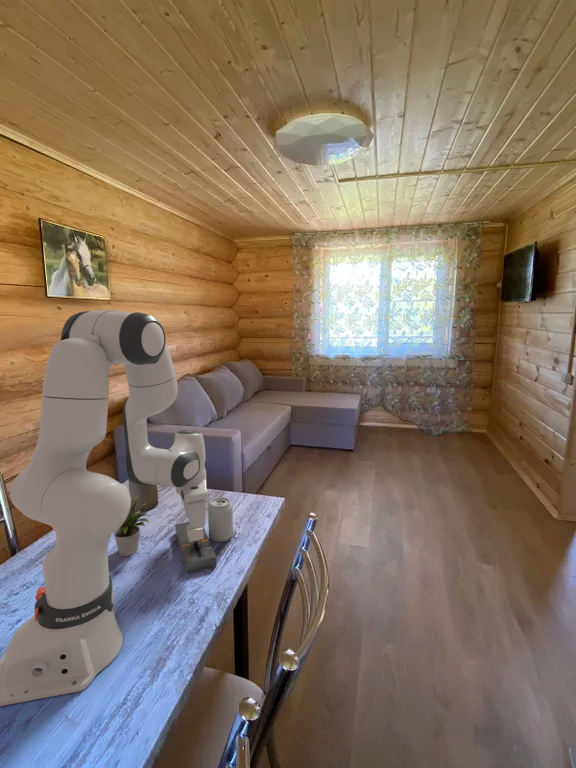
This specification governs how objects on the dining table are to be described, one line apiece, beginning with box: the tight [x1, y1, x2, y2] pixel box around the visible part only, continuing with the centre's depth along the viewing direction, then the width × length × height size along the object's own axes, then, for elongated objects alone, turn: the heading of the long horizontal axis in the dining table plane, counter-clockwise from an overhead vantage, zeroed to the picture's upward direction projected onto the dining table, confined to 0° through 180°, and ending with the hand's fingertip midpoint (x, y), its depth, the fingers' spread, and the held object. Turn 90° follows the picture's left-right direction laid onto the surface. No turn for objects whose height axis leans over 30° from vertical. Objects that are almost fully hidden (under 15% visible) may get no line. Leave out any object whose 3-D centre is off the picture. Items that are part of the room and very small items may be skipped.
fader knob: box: [187, 524, 204, 544], centre depth 110 cm, size 4×4×5 cm
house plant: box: [113, 495, 151, 557], centre depth 110 cm, size 14×14×16 cm
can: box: [207, 496, 234, 543], centre depth 119 cm, size 8×8×12 cm
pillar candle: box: [127, 476, 159, 512], centre depth 139 cm, size 10×10×15 cm
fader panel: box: [174, 521, 217, 575], centre depth 113 cm, size 8×22×3 cm, turn 24°
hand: (192, 527), depth 114 cm, fingers closed
